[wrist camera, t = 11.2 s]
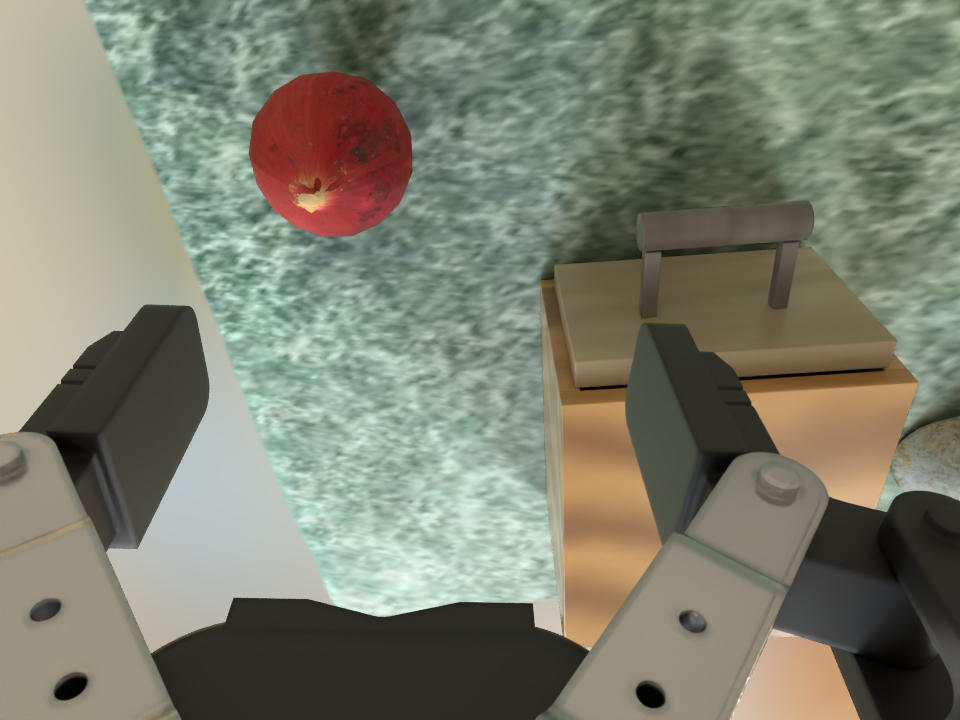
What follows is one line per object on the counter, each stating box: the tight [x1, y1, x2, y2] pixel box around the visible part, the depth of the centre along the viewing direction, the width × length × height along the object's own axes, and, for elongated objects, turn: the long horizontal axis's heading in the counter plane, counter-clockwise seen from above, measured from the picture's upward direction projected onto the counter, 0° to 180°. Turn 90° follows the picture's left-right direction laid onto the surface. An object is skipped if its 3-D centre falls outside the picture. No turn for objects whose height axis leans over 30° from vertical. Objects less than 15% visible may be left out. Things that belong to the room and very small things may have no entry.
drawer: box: [554, 201, 897, 391], centre depth 31 cm, size 18×11×8 cm, turn 4°
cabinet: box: [540, 279, 918, 648], centre depth 33 cm, size 15×13×10 cm
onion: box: [249, 72, 412, 237], centre depth 26 cm, size 6×6×8 cm
